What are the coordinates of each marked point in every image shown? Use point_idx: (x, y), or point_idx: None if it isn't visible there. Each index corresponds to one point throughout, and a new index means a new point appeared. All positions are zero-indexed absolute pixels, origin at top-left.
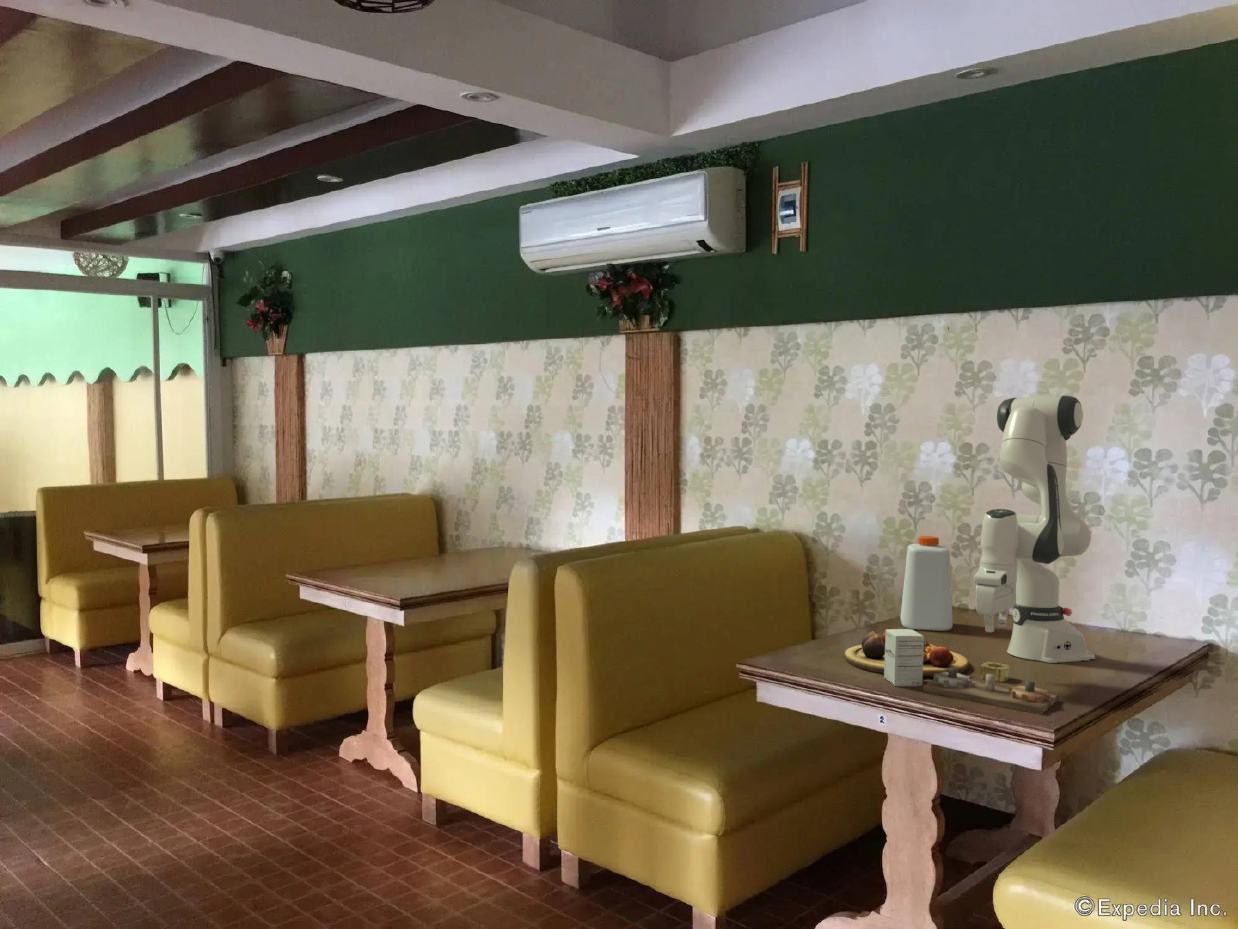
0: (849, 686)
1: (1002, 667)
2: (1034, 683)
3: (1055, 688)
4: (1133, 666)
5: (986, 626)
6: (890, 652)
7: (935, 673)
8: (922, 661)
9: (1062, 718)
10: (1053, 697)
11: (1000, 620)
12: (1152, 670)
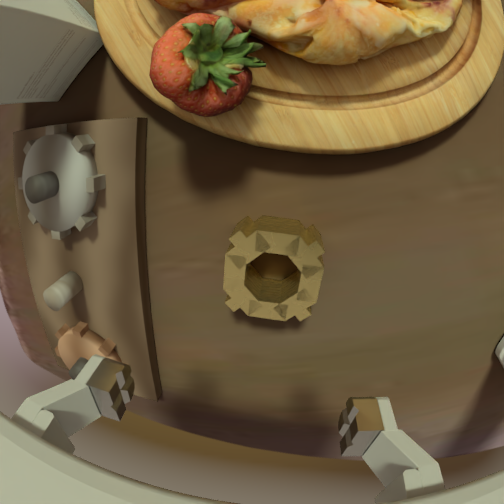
0: None
1: (257, 304)
2: None
3: (261, 392)
4: (483, 433)
5: (81, 377)
6: None
7: (51, 127)
8: (3, 103)
9: None
10: None
11: (352, 437)
12: (462, 450)
